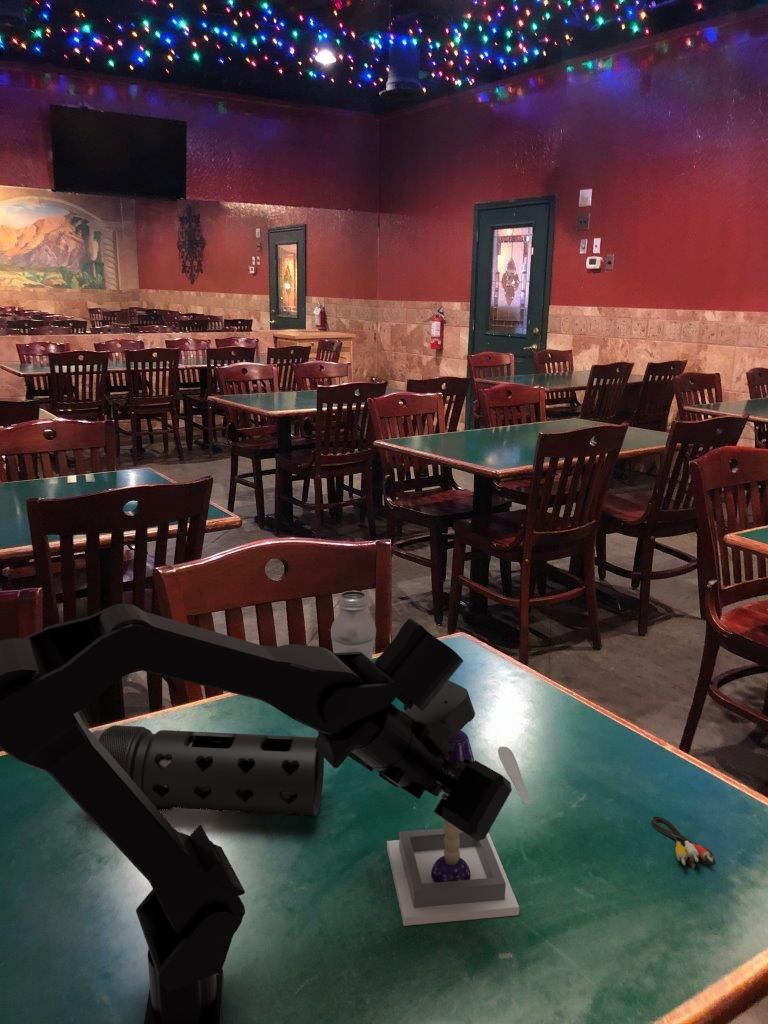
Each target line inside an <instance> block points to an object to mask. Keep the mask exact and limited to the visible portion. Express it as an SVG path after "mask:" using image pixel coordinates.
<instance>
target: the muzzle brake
mask: <svg viewBox="0 0 768 1024" xmlns="http://www.w3.org/2000/svg"><path fill="white" fill-rule="evenodd" d="M91 732H92V734H93V735H94V736H95V737H96V738H97V739H98V741H99V742H100V743H101V744H102V745H103V746H104V748H105V749H106V750H107V751H108V752H109V753H110V755H111V756H112V757H113V758H114V759H115V760H116V761H117V763H118V764H119V765H120V766H121V767H122V768H123V770H124V771H125V772H126V773H127V774H128V775H129V777H130V778H131V779H132V780H133V781H134V782H135V784H136V785H137V786H138V787H139V788H140V789H141V791H142V792H143V793H144V794H145V795H146V796H147V798H148V799H149V800H150V801H151V802H152V803H153V805H154V806H155V807H156V808H157V809H158V810H159V811H168V812H169V811H170V810H171V809H181V810H182V809H183V810H185V809H187V810H203V811H204V810H205V811H206V810H210V811H218V812H219V813H223V812H224V811H225V812H239V813H240V814H253V815H255V814H256V815H270V816H271V815H273V816H274V815H275V816H288V817H289V816H291V817H293V816H294V817H309V818H310V817H311V818H313V817H315V816H316V815H318V812H319V810H320V805H321V802H322V801H321V800H322V795H323V794H322V793H323V787H324V785H323V784H324V769H325V758H324V757H323V756H322V755H321V753H320V752H319V751H318V750H317V749H316V748H315V742H316V738H317V736H316V737H311V736H297V735H296V736H293V735H272V734H253V733H251V734H250V733H236V732H234V733H233V732H230V733H229V732H213V731H211V732H209V731H193V730H192V731H189V730H172V729H171V730H170V729H168V730H167V729H162V730H161V729H160V730H157V732H155V733H153V731H152V730H151V729H149V728H147V727H145V726H137V725H118V724H117V725H112V726H109V727H107V728H105V729H104V730H102V729H100V730H98V729H96V730H93V731H91Z"/></svg>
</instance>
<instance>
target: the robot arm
mask: <svg viewBox="0 0 768 1024" xmlns="http://www.w3.org/2000/svg"><path fill="white" fill-rule="evenodd" d="M463 663H464V660H463V658H462V656H460V655H459V654H458V653H457V652H456V651H455V650H454V649H453V648H451V647H450V646H448V645H447V644H446V643H444V642H443V641H441V640H440V639H438V637H435V636H434V635H433V634H432V633H431V632H430V631H428V630H427V629H426V628H425V627H423V626H422V624H420V623H418V622H417V621H416V620H414V619H412V618H408V619H407V620H406V621H405V622H404V623H403V625H402V626H401V627H400V629H399V631H398V632H397V634H396V636H395V637H394V638H393V640H391V642H390V643H389V645H387V647H386V648H385V649H384V650H383V652H382V653H381V654H380V655H379V656H378V658H377V659H376V660H375V661H373V659H372V660H370V659H369V658H368V657H367V656H366V655H365V654H363V653H362V652H346V653H334V652H333V651H331V650H329V649H328V648H326V647H322V646H314V645H308V644H307V645H304V644H295V643H289V644H284V645H278V646H271V645H269V646H268V645H261V644H257V643H254V642H251V641H247V640H244V639H242V638H237V637H233V636H231V635H227V634H224V633H220V632H216V631H213V630H209V629H207V628H203V627H200V626H196V625H194V624H193V625H192V624H189V623H186V622H182V621H179V620H175V619H171V618H168V617H165V616H162V615H158V614H154V613H151V612H147V611H145V610H142V608H140V607H138V606H137V605H134V604H130V603H117V604H114V605H111V606H108V607H106V608H104V609H102V610H100V611H97V612H96V613H93V614H92V615H89V616H84V617H80V618H77V619H72V620H69V621H64V622H60V623H55V624H52V625H48V626H46V627H44V628H42V629H39V630H37V631H35V632H34V633H31V634H27V636H24V637H22V638H16V637H14V638H13V637H12V638H7V639H2V640H0V751H3V752H4V753H5V754H7V755H8V756H10V757H11V758H13V760H15V761H17V762H18V763H21V764H24V765H26V766H29V767H32V768H36V769H38V770H41V771H43V772H45V773H47V774H48V775H50V776H51V778H53V779H54V780H55V782H56V783H57V784H58V785H59V786H60V788H62V790H63V791H65V793H66V794H67V795H68V796H69V797H70V798H71V799H72V800H73V801H74V802H75V803H76V804H77V806H79V808H80V809H81V810H82V811H83V812H84V813H85V814H86V816H87V817H89V819H91V821H92V822H93V823H94V824H95V825H96V826H97V827H98V829H100V830H101V832H103V834H104V835H105V836H106V837H107V838H108V839H109V840H110V841H111V842H112V843H113V845H114V846H116V848H117V849H118V850H119V851H120V852H121V853H122V854H123V856H125V857H126V859H128V861H129V862H130V863H131V864H132V865H133V866H134V867H135V868H136V869H137V871H139V873H141V875H142V876H144V878H145V879H146V880H147V881H148V883H149V884H150V886H151V888H152V889H151V891H150V892H149V893H148V894H147V895H146V897H145V898H144V899H143V900H142V901H141V902H140V904H139V905H138V906H137V908H136V909H135V913H136V916H137V919H138V922H139V925H140V928H141V930H142V934H143V936H144V939H145V942H146V945H147V947H148V949H147V964H148V965H147V966H148V977H149V978H148V980H149V990H148V996H147V1003H146V1007H145V1015H144V1021H143V1024H221V1020H222V1005H223V1004H222V1002H223V1000H222V999H223V983H224V971H223V967H224V964H225V961H226V959H227V955H228V952H229V950H230V947H231V943H232V940H233V938H234V934H235V933H236V932H237V931H238V929H239V928H240V926H241V924H242V922H243V918H244V916H245V914H246V907H245V905H244V903H243V901H242V899H241V896H243V895H244V894H245V893H246V890H245V889H244V887H243V884H242V883H241V881H240V879H239V877H238V875H237V873H236V872H235V870H234V868H233V866H232V864H231V862H230V861H229V859H228V857H227V855H226V853H225V850H224V849H223V847H222V846H220V845H218V844H215V843H214V842H213V841H211V840H210V838H209V837H208V835H207V833H206V831H205V829H204V827H203V825H202V824H199V825H198V826H197V827H196V828H194V830H193V831H191V833H190V834H188V833H187V834H186V833H184V832H180V831H178V830H177V829H176V828H175V827H173V825H172V824H171V823H170V822H169V821H168V820H167V818H166V817H165V816H164V815H163V814H162V813H161V810H158V809H157V808H156V807H155V806H154V805H153V803H152V802H151V801H150V800H149V799H148V798H147V796H146V795H145V794H144V793H143V792H142V791H141V789H140V788H139V787H138V786H137V785H136V784H135V782H134V781H133V780H132V779H131V778H130V777H129V775H128V774H127V773H126V772H125V771H124V770H123V768H122V767H121V766H120V765H119V764H118V763H117V761H116V760H115V759H114V758H113V757H112V756H111V755H110V753H109V752H108V751H107V750H106V749H105V748H104V746H103V745H102V744H101V743H100V742H99V741H98V739H97V738H96V737H95V736H94V735H93V734H92V732H93V731H91V730H90V729H89V727H87V725H86V724H85V722H84V721H83V719H82V717H81V715H80V713H79V712H80V711H82V710H84V709H86V708H87V707H89V706H90V705H91V703H93V702H94V701H95V700H96V699H98V697H100V696H102V694H104V693H105V692H106V691H107V690H108V689H109V688H110V687H111V686H113V685H114V684H115V683H116V682H117V681H119V680H120V679H121V678H123V677H126V676H127V675H129V674H132V673H133V672H136V671H137V670H138V671H142V672H147V673H150V674H153V675H158V676H162V677H166V678H170V679H174V680H178V681H182V682H185V683H190V684H194V685H198V686H203V687H206V688H210V689H214V690H218V691H222V692H227V693H231V694H235V695H239V696H242V697H247V698H250V699H255V700H258V701H261V702H262V703H265V704H268V705H269V706H271V707H273V708H275V709H276V710H278V711H280V712H282V714H284V715H286V716H288V717H289V718H290V719H293V720H294V721H296V722H298V723H300V724H302V725H305V726H307V727H309V728H310V729H313V730H315V731H317V736H316V737H317V738H316V742H315V748H316V749H317V750H318V751H319V752H320V753H321V755H322V756H323V757H324V760H326V761H327V762H328V764H329V765H331V767H332V768H333V769H337V768H339V767H340V766H341V765H342V764H343V763H344V761H345V760H346V759H347V758H348V757H349V758H350V759H352V760H353V761H354V762H356V763H357V764H359V765H360V766H362V767H364V768H365V769H367V770H368V771H369V772H373V770H375V771H377V772H378V775H379V778H382V779H383V780H384V781H385V782H388V783H389V784H390V785H392V786H394V787H396V788H401V789H402V790H404V791H405V792H406V793H408V794H409V795H411V796H413V797H414V798H416V799H418V800H420V799H421V797H422V795H423V794H424V792H425V791H426V792H428V793H429V794H431V796H434V797H436V798H437V797H438V796H439V795H440V793H442V795H441V798H440V800H439V802H438V803H437V806H436V807H435V809H434V811H433V813H435V814H436V815H438V816H440V818H442V819H443V820H444V819H445V820H446V821H447V822H449V823H450V824H452V825H453V826H455V827H456V828H458V829H459V830H461V831H462V832H464V833H465V834H467V835H468V836H470V837H471V838H473V839H474V840H476V841H479V840H482V839H485V837H486V835H487V834H488V833H489V832H490V830H491V828H492V827H493V825H494V823H495V821H496V820H497V818H498V816H499V814H500V812H501V810H502V808H503V807H504V805H505V804H506V802H507V800H508V798H509V796H510V794H511V793H512V791H513V790H512V789H513V788H512V784H511V782H510V781H509V780H508V779H507V778H506V777H505V776H504V775H502V774H501V773H500V772H497V771H495V770H493V769H491V768H490V767H488V766H487V765H485V764H483V763H481V762H479V761H478V760H475V759H474V761H473V762H471V761H469V760H467V759H464V761H461V760H455V761H454V762H452V763H451V762H449V761H447V760H446V759H444V757H446V758H449V756H450V755H451V753H452V751H453V750H454V748H455V747H454V746H453V745H452V744H450V743H449V742H448V740H450V739H452V738H454V737H455V736H456V734H457V733H458V732H459V731H460V730H461V731H462V729H463V728H464V727H465V726H466V725H467V724H468V723H470V722H471V721H473V719H474V718H475V716H476V712H475V709H474V706H473V703H472V700H471V696H470V694H469V691H468V689H467V688H466V687H464V686H461V685H459V684H458V683H456V682H453V681H451V680H450V678H452V676H453V675H454V674H455V673H456V671H457V670H458V669H459V668H460V666H461V665H463ZM396 699H397V700H398V701H400V702H401V703H402V704H403V710H404V711H403V710H401V709H399V707H397V706H396V705H394V704H393V702H394V701H395V700H396ZM442 770H444V771H445V772H446V771H447V773H448V775H446V774H445V773H443V772H442ZM450 772H452V773H453V774H452V773H450ZM445 820H444V821H445Z"/></svg>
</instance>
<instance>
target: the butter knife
mask: <svg viewBox="0 0 768 1024" xmlns="http://www.w3.org/2000/svg"><path fill="white" fill-rule="evenodd" d="M497 753H498V756H499V758H500V760H501V763H502V765H503V767H504V769H505V771H506V772H507V774H508V776H509V778H510V779H511V782H512V783H513V785H514V787H515V788H516V791H517V793H518V794H519V797H520V799H521V798H522V799H521V801H522V800H523V801H522V803H523V802H524V804H525V803H526V804H527V803H528V802H529V803H530V802H531V800H532V798H531V797H530V796H529V798H531V799H530V800H529V798H528V795H529V793H528V791H527V789H526V786H525V783H524V781H523V776H522V773H520V772H521V769H520V766H519V764H518V761H517V759H516V757H515V754H514V753H513V751H512V750H511V748H509V746H508V747H507V746H499V747H498V749H497ZM518 766H519V767H518ZM519 769H520V770H519ZM521 776H522V777H521ZM532 802H533V801H532ZM532 802H531V803H532ZM524 804H523V805H524Z"/></svg>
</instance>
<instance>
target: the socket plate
mask: <svg viewBox="0 0 768 1024" xmlns="http://www.w3.org/2000/svg"><path fill="white" fill-rule="evenodd" d="M398 837H399V839H396V840H395V839H393V840H387V841H386V852H387V855H388V859H389V864H390V869H391V873H392V878H393V882H394V887H395V892H396V896H397V901H398V906H399V910H400V915H401V919H402V925H403V926H406V927H407V926H413V925H414V926H415V925H427V924H437V923H439V924H440V923H447V922H448V923H449V922H459V921H471V920H479V919H490V918H492V919H493V918H501V917H502V918H503V917H513V916H519V913H520V905H519V904H518V901H517V898H516V896H515V893H514V891H513V889H512V885H511V884H510V881H509V879H508V876H507V873H506V871H505V870H504V866H503V864H502V862H501V860H500V857H499V854H498V852H497V849H496V847H495V844H494V843H493V840H492V838H491V835H490V833H489V832H488V834H487V835H486V837H485V839H482V840H479V841H476V840H474V839H473V838H471V837H470V836H468V835H467V834H465V833H464V832H462V831H461V830H460V834H459V839H460V846H459V852H460V858H462V859H463V860H464V861H465V862H466V863H467V865H468V867H469V869H470V874H471V877H470V880H460V881H449V882H437V883H436V882H435V881H434V880H433V878H432V876H431V872H432V868H433V865H434V863H435V862H436V861H437V860H438V859H439V858H440V857H442V856H444V850H445V846H444V837H445V833H444V827H443V828H431V829H419V830H418V829H417V830H406V831H404V830H403V831H399V834H398Z"/></svg>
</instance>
